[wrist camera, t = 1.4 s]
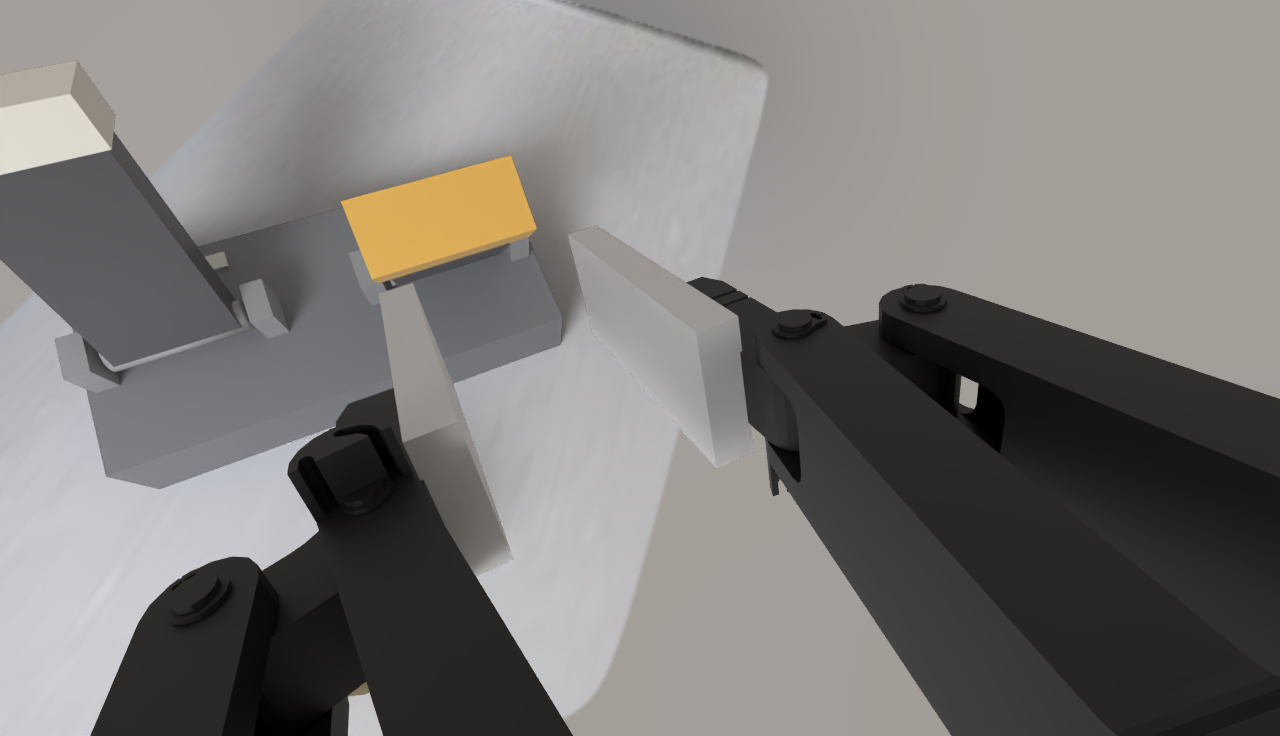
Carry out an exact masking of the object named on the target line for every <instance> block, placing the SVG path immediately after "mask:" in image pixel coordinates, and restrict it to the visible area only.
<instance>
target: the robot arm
mask: <svg viewBox="0 0 1280 736" xmlns="http://www.w3.org/2000/svg"><path fill="white" fill-rule="evenodd" d="M568 238H569V242H570V246H571V250H572V254H573V258H574V262H575V266H576V269H577V273H578V277H579V281H580V285H581V289H582V293H583V297H584V301H585V305H586V309H587V313H588V317H589V321H590V325H591V329H592V333H593V335H594V336H595V337H596V338H597V339H598V340H599V341H600V342H601V344H602V345H603V346H604V347H605V348H606V349H607V350H608V351H609V352H610V353H611V354H612V355H613V357H614V358H615V359H616V360H617V361H618V362H619V363H620V364H621V365H622V366H623V367H624V368H625V370H626V371H627V372H628V373H629V374H630V375H631V376H632V377H633V378H634V379H635V380H636V381H637V383H638V384H639V385H640V386H641V387H642V388H643V389H644V390H645V391H646V392H647V393H648V394H649V396H650V397H651V398H652V399H653V400H654V401H655V402H656V403H657V404H658V405H659V406H660V407H661V409H662V410H663V411H664V412H665V413H666V414H667V415H668V416H669V417H670V418H671V419H672V421H673V422H674V423H675V424H676V425H677V426H678V427H679V428H680V429H681V430H682V431H683V432H684V433H685V435H686V436H687V437H688V438H689V439H690V440H691V441H692V442H693V443H694V444H695V445H696V447H697V448H698V449H699V450H700V451H701V452H702V453H703V454H704V455H705V456H706V457H707V458H708V459H709V461H710V462H711V463H712V464H713V465H714V466H715V467H716V468H720V467H722V466H724V465H726V464H728V463H731V462H733V461H735V460H737V459H740V458H742V457H744V456H746V455H749V454H751V453H753V452H754V448H753V440H752V431H751V425H752V426H753V427H754V428H755V429H756V430H757V431H758V432H760V433H761V434H762V435H763V436H764V437H765V441H766V451H767V460H768V470H769V480H770V488H771V491H772V494H773V496H775V495H778V494H779V489H778V482H779V479H781V481H782V482H783V483H784V485H785V487H786V488H787V492H789V493H790V494H791V496H792V497H793V499H794V500H795V501H796V503H797V505H798V506H799V508H800V509H801V511H802V512H803V513H804V515H805V517H806V518H807V520H808V521H809V522H810V524H811V526H812V527H813V528H814V530H815V531H816V533H817V534H818V536H819V537H820V539H821V540H822V542H823V544H824V545H825V546H826V548H827V550H828V551H829V553H830V554H831V556H832V557H833V559H834V560H835V561H836V563H837V565H838V566H839V567H840V569H841V571H842V572H843V573H844V575H845V577H846V578H847V580H848V581H849V583H850V584H851V586H852V587H853V589H854V590H855V591H856V593H857V595H858V596H859V598H860V599H861V601H862V602H863V604H864V605H865V607H866V608H867V610H868V611H869V612H870V614H871V616H872V617H873V618H874V620H875V622H876V623H877V625H878V626H879V628H880V629H881V631H882V632H883V634H884V635H885V637H886V638H887V640H888V641H889V643H890V644H891V646H892V647H893V648H894V650H895V652H896V653H897V655H898V656H899V658H900V659H901V661H902V662H903V663H904V665H905V666H906V668H907V669H908V671H909V673H910V674H911V676H912V677H913V679H914V680H915V681H916V683H917V684H918V686H919V688H920V689H921V690H922V692H923V693H924V695H925V697H926V698H927V699H928V701H929V702H930V704H931V706H932V707H933V709H934V710H935V712H936V713H937V714H938V716H939V718H940V719H941V721H942V722H943V723H944V725H945V726H946V728H947V729H948V731H949V733H950V734H951V736H1280V399H1278V398H1275V397H1272V396H1269V395H1266V394H1263V393H1260V392H1257V391H1254V390H1251V389H1248V388H1245V387H1242V386H1239V385H1237V384H1234V383H1231V382H1228V381H1224V380H1221V379H1219V378H1215V377H1212V376H1210V375H1206V374H1203V373H1201V372H1198V371H1195V370H1192V369H1189V368H1186V367H1183V366H1180V365H1177V364H1174V363H1171V362H1168V361H1165V360H1162V359H1159V358H1156V357H1153V356H1150V355H1147V354H1144V353H1141V352H1138V351H1135V350H1132V349H1129V348H1126V347H1123V346H1120V345H1117V344H1114V343H1111V342H1108V341H1106V340H1103V339H1099V338H1097V337H1094V336H1091V335H1088V334H1085V333H1082V332H1079V331H1076V330H1072V329H1070V328H1067V327H1063V326H1061V325H1058V324H1055V323H1052V322H1049V321H1046V320H1043V319H1040V318H1037V317H1034V316H1031V315H1028V314H1025V313H1022V312H1019V311H1016V310H1013V309H1010V308H1007V307H1004V306H1001V305H998V304H995V303H992V302H989V301H986V300H983V299H980V298H978V297H975V296H971V295H969V294H966V293H963V292H960V291H956V290H953V289H950V288H945V287H941V286H932V285H926V284H915V285H914V286H913V285H907V286H904V287H902V288H899V289H895V290H892V291H890V292H889V293H887V294H886V295H884V296H882V298H881V300H880V302H879V320H876V321H871V322H865V323H860V324H855V325H850V326H842V325H841V324H840V323H839V322H837V321H836V320H835V319H834V318H832V317H831V316H829V315H827V314H825V313H823V312H819V311H813V310H788V311H782V312H778V313H777V312H775V311H774V310H772V309H770V308H768V307H767V306H765V305H763V304H761V303H760V302H758V301H756V300H755V299H753V298H751V297H750V298H748V295H746V294H744V293H742V292H740V291H737V290H736V289H735V288H733V287H732V286H730V285H728V284H727V283H725V282H723V281H720V280H714V279H709V278H704V277H700V278H698V279H695V280H692V281H689V282H684V281H683V280H681V279H680V278H678V277H677V276H675V275H673V274H672V273H670V272H669V271H667V270H666V269H664V268H662V267H661V266H659V265H658V264H656V263H655V262H653V261H652V260H650V259H648V258H647V257H645V256H644V255H642V254H641V253H639V252H637V251H636V250H634V249H633V248H631V247H630V246H628V245H627V244H625V243H623V242H622V241H620V240H619V239H617V238H616V237H614V236H613V235H611V234H609V233H608V232H606V231H605V230H603V229H602V228H600V227H598V226H593V227H590V228H587V229H584V230H581V231H577V232H574V233H571V234H568ZM379 299H380V305H381V311H382V317H383V324H384V330H385V336H386V343H387V349H388V355H389V361H390V368H391V374H392V380H393V386H394V388H392V389H389V390H386V391H383V392H380V393H378V394H375V395H372V396H369V397H366V398H363V399H361V400H358V401H355V402H352V403H349V404H348V405H347V406H346V408H345V409H344V411H343V412H342V414H341V415H340V416H339V418H338V419H337V421H336V427H335V428H332V429H330V430H328V431H327V432H325V433H323V434H321V435H319V436H317V437H316V438H314V439H312V440H311V441H310V442H309V443H307V444H306V445H305V446H304V447H302V448H301V449H300V450H299V451H298V452H297V453H296V455H295V456H294V457H293V459H292V460H291V461H290V463H289V467H288V474H287V475H288V476H289V478H290V479H291V481H292V483H293V484H294V486H295V488H296V489H297V491H298V493H299V494H300V496H301V498H302V499H303V501H304V503H305V504H306V506H307V507H308V509H309V511H310V512H311V514H312V516H313V517H314V519H315V521H316V522H317V526H318V529H319V531H318V532H317V533H316V534H315V535H314V536H313V537H312V538H311V539H310V540H308V541H307V542H306V543H305V544H303V545H302V546H301V547H299V548H298V549H296V550H295V551H293V552H292V553H290V554H289V555H287V556H286V557H284V558H282V559H281V560H279V561H277V562H276V563H274V564H273V565H271V566H269V567H268V568H266V569H264V570H263V571H262V570H261V569H260V568H259V566H258V565H257V564H256V563H255V562H253V561H252V560H251V559H249V558H247V557H229V558H225V559H221V560H217V561H213V562H211V563H208V564H206V565H204V566H202V567H200V568H198V569H195V570H193V571H191V572H189V573H187V574H186V575H184V576H182V578H181V579H178V580H176V581H175V582H174V583H173V584H171V585H170V586H169V587H168V588H167V589H166V590H165V591H164V592H163V593H162V594H161V595H160V596H159V597H158V598H157V599H156V600H154V601H153V602H152V603H151V604H150V606H149V607H148V609H147V610H146V612H145V613H144V615H143V616H142V618H141V620H140V621H139V623H138V625H137V627H136V630H135V632H134V634H133V637H132V639H131V641H130V644H129V646H128V648H127V651H126V653H125V656H124V658H123V660H122V663H121V665H120V667H119V670H118V672H117V674H116V677H115V679H114V681H113V684H112V686H111V688H110V691H109V693H108V696H107V698H106V700H105V703H104V705H103V707H102V710H101V712H100V714H99V717H98V719H97V721H96V724H95V726H94V728H93V731H92V733H91V736H348V718H349V701H348V695H349V694H351V693H352V692H353V691H355V690H356V689H357V688H359V687H360V686H361V685H362V684H364V683H365V682H367V685H368V688H369V692H370V695H371V698H372V701H373V704H374V708H375V711H376V714H377V717H378V720H379V723H380V727H381V730H382V733H383V736H573V735H572V733H571V732H570V730H569V729H568V727H567V725H566V724H565V722H564V720H563V719H562V717H561V715H560V714H559V712H558V710H557V709H556V707H555V705H554V704H553V702H552V701H551V699H550V697H549V696H548V694H547V692H546V691H545V689H544V687H543V686H542V684H541V683H540V681H539V679H538V678H537V676H536V674H535V673H534V671H533V669H532V668H531V666H530V664H529V663H528V661H527V660H526V658H525V656H524V655H523V653H522V651H521V650H520V648H519V646H518V645H517V643H516V641H515V640H514V638H513V637H512V635H511V633H510V632H509V630H508V628H507V627H506V625H505V623H504V622H503V620H502V619H501V617H500V615H499V614H498V612H497V610H496V609H495V607H494V605H493V604H492V602H491V600H490V599H489V597H488V596H487V594H486V592H485V591H484V589H483V587H482V586H481V584H480V582H479V581H478V579H477V577H476V576H478V575H480V574H482V573H484V572H487V571H489V570H491V569H493V568H496V567H498V566H500V565H502V564H504V563H507V562H509V561H511V560H513V557H512V554H511V551H510V548H509V545H508V542H507V539H506V536H505V533H504V531H503V528H502V525H501V522H500V519H499V516H498V513H497V510H496V507H495V504H494V502H493V499H492V496H491V493H490V490H489V487H488V484H487V481H486V478H485V476H484V473H483V470H482V467H481V464H480V461H479V458H478V455H477V452H476V449H475V447H474V444H473V441H472V438H471V435H470V432H469V429H468V426H467V423H466V421H465V418H464V415H463V412H462V409H461V406H460V403H459V400H458V397H457V394H456V392H455V389H454V386H453V383H452V381H451V378H450V376H449V373H448V370H447V368H446V365H445V363H444V360H443V358H442V355H441V353H440V350H439V348H438V345H437V343H436V340H435V338H434V335H433V333H432V330H431V328H430V325H429V323H428V320H427V317H426V315H425V312H424V310H423V307H422V305H421V302H420V300H419V297H418V295H417V292H416V290H415V287H414V285H413V283H411V284H408V285H405V286H401V287H398V288H395V289H392V290H389V291H385V292H382V293H379ZM961 376H963V377H966V378H968V379H970V380H972V381H974V382H976V383H979V386H978V395H977V404H976V407H975V409H972V408H968V407H966V406H963V405H962V404H960V403H959V397H960V386H961Z"/></svg>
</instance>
